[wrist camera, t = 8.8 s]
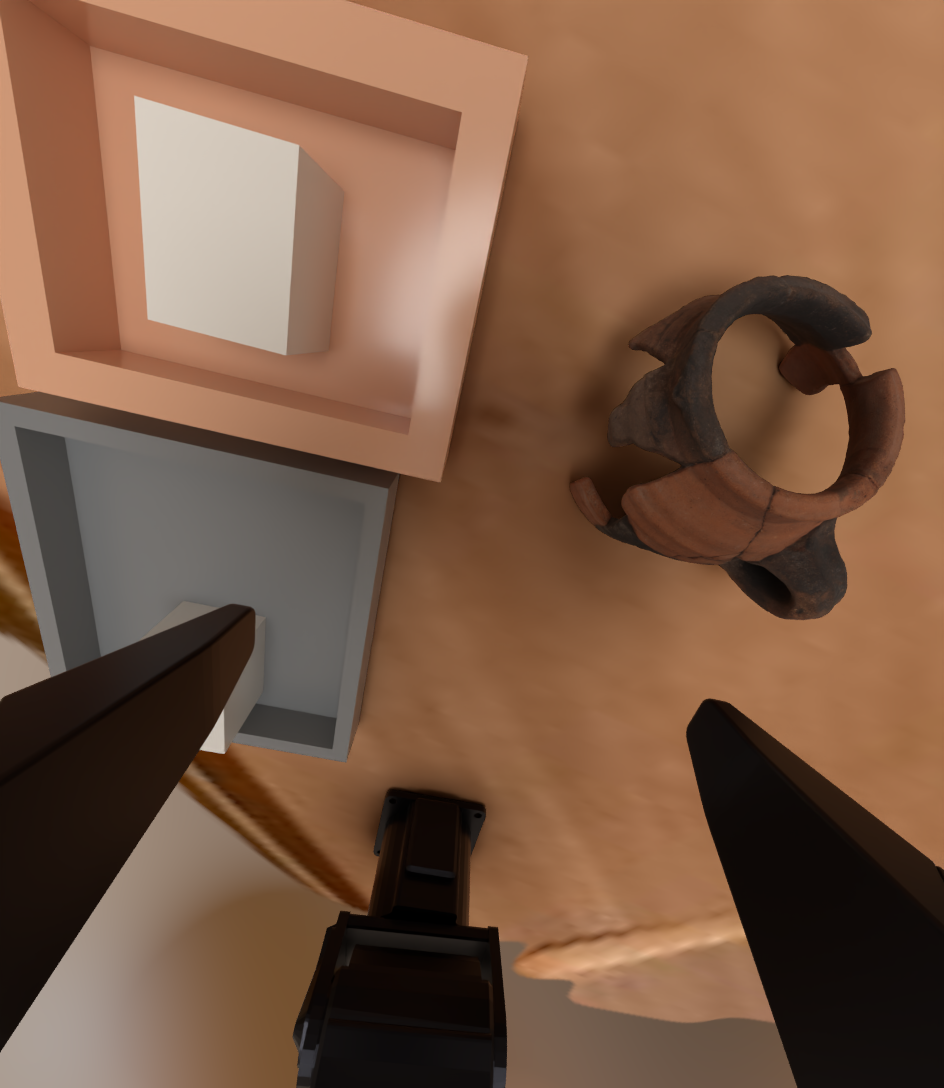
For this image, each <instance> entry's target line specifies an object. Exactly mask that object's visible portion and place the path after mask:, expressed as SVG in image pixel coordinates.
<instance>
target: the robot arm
mask: <svg viewBox="0 0 944 1088" xmlns="http://www.w3.org/2000/svg"><path fill="white" fill-rule="evenodd" d="M255 624H256V613H255V610H254V609H253V608H252V607H250V606H245V605H240V604H234V603H232V604H228V605H226V606H223V607H221V608H218V609H216V610H213V611H211V612H209V613H206V614H204V615H201V616H199V617H196V618H194V619H192V620H189V621H187V622H184V623H182V624H179V625H177V626H175V627H172V628H170V629H167V630H165V631H162V632H160V633H158V634H155V635H153V636H150V637H148V638H145V639H143V640H140V641H138V642H136V643H133V644H131V645H128V646H126V647H123V648H121V649H119V650H116V651H114V652H111V653H109V654H106V655H104V656H102V657H99V658H97V659H94V660H92V661H89V662H87V663H85V664H82V665H80V666H77V667H75V668H72V669H70V670H68V671H65V672H63V673H60V674H58V675H55V676H53V677H51V678H48V679H46V680H43V681H41V682H38V683H36V684H34V685H31V686H29V687H26V688H24V689H21V690H19V691H17V692H14V693H12V694H9V695H7V696H5V697H3V698H2V699H1V701H0V1052H1V1050H2V1049H3V1047H4V1046H5V1044H6V1043H7V1041H8V1040H9V1038H10V1037H11V1035H12V1034H13V1032H14V1031H15V1029H16V1027H17V1026H18V1025H19V1023H20V1021H21V1020H22V1018H23V1017H24V1015H25V1014H26V1012H27V1011H28V1009H29V1008H30V1006H31V1005H32V1003H33V1002H34V1000H35V999H36V997H37V996H38V994H39V993H40V991H41V990H42V988H43V987H44V985H45V984H46V982H47V981H48V979H49V977H50V976H51V974H52V973H53V971H54V970H55V968H56V967H57V965H58V963H59V962H60V961H61V959H62V958H63V956H64V955H65V953H66V951H67V950H68V949H69V947H70V945H71V944H72V943H73V941H74V940H75V938H76V937H77V935H78V933H79V932H80V930H81V929H82V927H83V926H84V924H85V923H86V921H87V920H88V918H89V917H90V915H91V914H92V912H93V911H94V909H95V908H96V906H97V905H98V903H99V902H100V900H101V898H102V897H103V896H104V894H105V893H106V891H107V889H108V888H109V886H110V885H111V883H112V882H113V880H114V879H115V877H116V876H117V874H118V873H119V871H120V870H121V868H122V867H123V865H124V864H125V862H126V861H127V859H128V858H129V856H130V855H131V853H132V852H133V850H134V849H135V847H136V845H137V844H138V842H139V841H140V839H141V838H142V836H143V835H144V833H145V832H146V830H147V829H148V827H149V826H150V824H151V823H152V821H153V820H154V818H155V817H156V815H157V813H158V812H159V811H160V809H161V807H162V806H163V805H164V803H165V801H166V800H167V798H168V797H169V795H170V794H171V792H172V791H173V789H174V788H175V786H176V785H177V783H178V782H179V780H180V779H181V777H182V776H183V774H184V773H185V771H186V770H187V768H188V767H189V765H190V764H191V762H192V761H193V759H194V757H195V756H196V754H197V753H198V751H199V750H200V748H201V747H202V745H203V744H204V742H205V741H206V739H207V738H208V736H209V734H210V733H211V731H212V730H213V728H214V726H215V724H216V723H217V721H218V719H219V717H220V715H221V713H222V711H223V709H224V707H225V706H226V704H227V702H228V700H229V698H230V696H231V694H232V692H233V690H234V688H235V686H236V684H237V682H238V680H239V678H240V676H241V674H242V672H243V670H244V668H245V667H246V665H247V663H248V661H249V659H250V657H251V655H252V652H253V649H254V645H255ZM686 738H687V743H688V747H689V751H690V755H691V759H692V764H693V768H694V772H695V776H696V780H697V784H698V789H699V793H700V797H701V801H702V805H703V809H704V812H705V816H706V819H707V822H708V826H709V829H710V832H711V835H712V838H713V840H714V843H715V846H716V849H717V852H718V855H719V858H720V861H721V864H722V867H723V870H724V873H725V876H726V879H727V882H728V885H729V888H730V891H731V893H732V896H733V899H734V902H735V905H736V908H737V911H738V914H739V917H740V920H741V923H742V926H743V929H744V932H745V935H746V938H747V941H748V944H749V946H750V949H751V952H752V955H753V958H754V961H755V964H756V967H757V970H758V973H759V976H760V979H761V982H762V985H763V988H764V991H765V994H766V997H767V999H768V1002H769V1005H770V1008H771V1011H772V1014H773V1017H774V1020H775V1023H776V1026H777V1029H778V1032H779V1035H780V1038H781V1040H782V1044H783V1047H784V1050H785V1052H786V1055H787V1058H788V1061H789V1064H790V1067H791V1070H792V1073H793V1076H794V1079H795V1082H796V1085H797V1088H944V870H943V869H942V868H941V867H939V866H935V864H934V863H933V861H931V860H930V859H929V858H928V857H926V856H925V855H924V854H922V853H921V852H920V851H919V850H917V849H916V848H915V847H913V846H912V845H911V844H910V843H908V842H907V841H906V840H904V839H903V838H902V837H901V836H899V835H898V834H897V833H895V832H894V831H893V830H892V829H890V828H889V827H888V826H886V825H885V824H884V823H883V822H881V821H880V820H879V819H877V818H876V817H875V816H874V815H872V814H871V813H870V812H869V811H867V810H866V809H865V808H863V807H862V806H861V805H860V804H858V803H857V802H856V801H854V800H853V799H852V798H851V797H849V796H848V795H847V794H845V793H844V792H843V791H842V790H840V789H839V788H838V787H836V786H835V785H834V784H833V783H831V782H830V781H829V780H827V779H826V778H825V777H824V776H822V775H821V774H820V773H818V772H817V771H816V770H815V769H813V768H812V767H811V766H809V765H808V764H807V763H806V762H804V761H803V760H802V759H800V758H799V757H798V756H797V755H795V754H794V753H793V752H791V751H790V750H789V749H788V748H786V747H785V746H784V745H782V744H781V743H780V742H779V741H777V740H776V739H775V738H773V737H772V736H771V735H770V734H768V733H767V732H766V731H764V730H763V729H762V728H761V727H759V726H758V725H757V724H755V723H754V722H753V721H752V720H750V719H749V718H748V717H746V716H745V715H744V714H743V713H741V712H740V711H739V710H737V709H736V708H735V707H734V706H732V705H731V704H730V703H728V702H725V701H720V700H715V699H706V700H704V701H703V702H702V703H701V705H700V706H699V708H698V710H697V711H696V713H695V715H694V716H693V718H692V720H691V721H690V723H689V725H688V727H687V731H686ZM485 817H486V809H485V807H484V806H482V805H478V804H472V803H467V802H461V801H455V800H449V799H443V798H438V797H432V796H426V795H420V794H414V793H409V792H403V791H397V790H390V791H388V792H387V793H386V797H385V801H384V806H383V810H382V815H381V819H380V824H379V828H378V833H377V837H376V842H375V846H374V851H373V852H374V854H375V855H376V856H379V860H378V865H377V870H376V875H375V880H374V885H373V890H372V895H371V900H370V905H369V910H368V915H367V916H366V915H356V914H350V912H348V911H340V914H339V917H338V920H337V923H336V924H335V925H333V926H330V927H328V928H327V930H326V934H325V938H324V941H323V946H322V949H321V953H320V956H319V960H318V963H317V967H316V970H315V972H314V975H313V978H312V981H311V983H310V986H309V989H308V991H307V994H306V997H305V999H304V1002H303V1005H302V1007H301V1010H300V1013H299V1015H298V1018H297V1021H296V1024H295V1028H294V1032H293V1040H294V1042H295V1045H296V1047H297V1050H298V1052H299V1056H298V1064H297V1066H298V1068H299V1071H298V1077H297V1087H296V1088H505V1084H506V1066H507V1027H506V1011H505V1000H504V989H503V978H502V966H501V956H500V944H499V933H498V927H491V926H488V928H480V927H471V926H469V893H470V856H471V854H472V851H473V849H474V846H475V843H476V841H477V838H478V835H479V833H480V830H481V828H482V825H483V822H484V820H485Z"/></svg>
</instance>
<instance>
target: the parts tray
mask: <svg viewBox="0 0 944 1088" xmlns="http://www.w3.org/2000/svg"><path fill="white" fill-rule="evenodd" d="M0 460H1V464H2V469H3V473H4V477H5V481H6V486H7V490H8V494H9V499H10V503H11V507H12V512H13V516H14V520H15V524H16V529H17V533H18V537H19V542H20V546H21V550H22V554H23V559H24V563H25V567H26V572H27V576H28V580H29V585H30V589H31V593H32V597H33V602H34V606H35V610H36V615H37V619H38V623H39V627H40V632H41V636H42V640H43V645H44V649H45V653H46V658H47V662H48V666H49V670H50V675H51V677H53V676H55V675H58V674H60V673H63V672H65V671H68V670H70V669H72V668H75V667H77V666H80V665H82V664H85V663H87V662H89V661H92V660H94V659H97V658H99V657H102V656H104V655H106V654H109V653H111V652H114V651H116V650H119V649H121V648H123V647H126V646H128V645H131V644H133V643H136V642H138V641H139V640H140V639H141V638H143V637H144V636H145V635H146V634H147V633H148V632H149V631H150V630H152V629H153V628H154V627H155V626H156V625H157V624H158V623H159V622H161V621H162V620H163V619H164V618H165V617H166V616H167V615H168V614H170V613H171V612H172V611H173V610H174V609H175V608H176V607H177V606H179V605H180V604H181V603H182V602H183V601H187V602H192V603H197V604H202V605H207V606H212V607H217V608H221V607H223V606H226V605H228V604H232V603H234V604H240V605H245V606H250V607H252V608H253V609H254V610H255V613H256V615H257V616H262V617H266V625H265V654H264V682H263V692H262V694H261V696H260V697H259V699H258V701H257V702H256V704H255V705H254V707H253V709H252V710H251V712H250V714H249V715H248V717H247V718H246V720H245V722H244V723H243V725H242V726H241V728H240V730H239V731H238V733H237V735H236V736H235V738H234V739H233V741H232V742H233V743H239V744H244V745H250V746H256V747H261V748H267V749H273V750H278V751H284V752H290V753H295V754H301V755H307V756H312V757H318V758H324V759H329V760H335V761H341V762H346V761H347V758H348V755H349V752H350V749H351V746H352V743H353V740H354V736H355V733H356V730H357V727H358V724H359V718H360V712H361V706H362V700H363V694H364V688H365V682H366V676H367V670H368V663H369V657H370V651H371V645H372V639H373V633H374V627H375V621H376V615H377V609H378V603H379V596H380V590H381V584H382V578H383V572H384V566H385V560H386V554H387V548H388V542H389V536H390V529H391V523H392V517H393V511H394V505H395V499H396V493H397V487H398V481H399V475H400V473H396V472H391V471H387V470H383V469H378V468H374V467H369V466H365V465H360V464H356V463H352V462H347V461H343V460H338V459H334V458H330V457H325V456H321V455H316V454H312V453H308V452H303V451H299V450H294V449H290V448H286V447H281V446H277V445H272V444H268V443H264V442H259V441H255V440H250V439H246V438H242V437H237V436H233V435H228V434H224V433H220V432H215V431H211V430H206V429H202V428H198V427H193V426H189V425H184V424H180V423H176V422H171V421H167V420H162V419H158V418H154V417H149V416H145V415H140V414H136V413H132V412H127V411H123V410H118V409H114V408H110V407H105V406H101V405H96V404H92V403H88V402H83V401H79V400H74V399H70V398H66V397H61V396H57V395H52V394H48V393H44V392H34V393H27V394H19V395H11V396H4V397H0Z"/></svg>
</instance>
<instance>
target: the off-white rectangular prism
mask: <svg viewBox="0 0 944 1088" xmlns="http://www.w3.org/2000/svg"><path fill="white" fill-rule="evenodd" d="M216 609H218V608H217V607H212V606H207V605H202V604H197V603H192V602H187V601H183V602H182V603H181V604H180V605H179V606H177V607H176V608H175V609H174V610H173V611H172V612H171V613H170V614H168V615H167V616H166V617H165V618H164V619H163V620H162V621H161V622H159V623H158V624H157V625H156V626H155V627H154V628H153V629H152V630H150V631H149V632H148V633H147V634H146V635H145V636H144V637H143V638H141V639H140V640H143V639H145V638H148V637H150V636H153V635H155V634H158V633H160V632H162V631H165V630H167V629H170V628H172V627H175V626H177V625H179V624H182V623H184V622H187V621H189V620H192V619H194V618H196V617H199V616H201V615H204V614H206V613H209V612H211V611H213V610H216ZM265 625H266V617H262V616H257V615H256V624H255V645H254V649H253V652H252V655H251V657H250V659H249V661H248V663H247V665H246V667H245V668H244V670H243V672H242V674H241V676H240V678H239V680H238V682H237V684H236V686H235V688H234V690H233V692H232V694H231V696H230V698H229V700H228V702H227V704H226V706H225V707H224V709H223V711H222V713H221V715H220V717H219V719H218V721H217V723H216V724H215V726H214V728H213V730H212V731H211V733H210V734H209V736H208V738H207V739H206V741H205V742H204V744H203V745H202V747H201V748H200V750H205V751H211V752H216V753H222V754H225V752H226V751H227V749H228V748H229V746H230V744H231V743H232V741H233V739H234V738H235V736H236V735H237V733H238V731H239V730H240V728H241V726H242V725H243V723H244V722H245V720H246V718H247V717H248V715H249V714H250V712H251V710H252V709H253V707H254V705H255V704H256V702H257V701H258V699H259V697H260V696H261V694H262V692H263V682H264V654H265ZM140 640H139V641H140Z"/></svg>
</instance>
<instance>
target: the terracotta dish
mask: <svg viewBox="0 0 944 1088" xmlns="http://www.w3.org/2000/svg"><path fill="white" fill-rule="evenodd" d="M527 62H528V56H526V55H523V54H520V53H516V52H513V51H510V50H506V49H503V48H500V47H497V46H493V45H490V44H487V43H484V42H480V41H477V40H474V39H470V38H467V37H464V36H461V35H457V34H454V33H451V32H447V31H444V30H441V29H438V28H434V27H431V26H428V25H425V24H421V23H418V22H415V21H411V20H408V19H405V18H402V17H398V16H395V15H392V14H389V13H385V12H382V11H379V10H375V9H372V8H369V7H366V6H362V5H359V4H356V3H353V2H349V1H346V0H0V298H1V303H2V308H3V313H4V318H5V323H6V328H7V333H8V338H9V343H10V348H11V353H12V358H13V363H14V368H15V373H16V378H17V383H18V387H22V388H26V389H30V390H35V391H39V392H44V393H48V394H52V395H57V396H61V397H66V398H70V399H74V400H79V401H83V402H88V403H92V404H96V405H101V406H105V407H110V408H114V409H118V410H123V411H127V412H132V413H136V414H140V415H145V416H149V417H154V418H158V419H162V420H167V421H171V422H176V423H180V424H184V425H189V426H193V427H198V428H202V429H206V430H211V431H215V432H220V433H224V434H228V435H233V436H237V437H242V438H246V439H250V440H255V441H259V442H264V443H268V444H272V445H277V446H281V447H286V448H290V449H294V450H299V451H303V452H308V453H312V454H316V455H321V456H325V457H330V458H334V459H338V460H343V461H347V462H352V463H356V464H360V465H365V466H369V467H374V468H378V469H383V470H387V471H391V472H396V473H400V474H405V475H409V476H413V477H418V478H422V479H427V480H431V481H435V482H441V479H442V475H443V472H444V468H445V465H446V461H447V458H448V453H449V448H450V443H451V439H452V434H453V429H454V424H455V419H456V415H457V410H458V405H459V400H460V396H461V391H462V386H463V381H464V376H465V372H466V367H467V362H468V357H469V352H470V348H471V343H472V338H473V333H474V329H475V324H476V319H477V314H478V309H479V305H480V300H481V295H482V290H483V285H484V281H485V276H486V271H487V266H488V261H489V257H490V252H491V247H492V242H493V238H494V233H495V228H496V223H497V218H498V214H499V209H500V204H501V199H502V194H503V190H504V185H505V180H506V175H507V170H508V166H509V161H510V156H511V151H512V147H513V142H514V137H515V132H516V127H517V123H518V118H519V112H520V105H521V99H522V93H523V87H524V81H525V75H526V68H527ZM134 96H137V97H141V98H144V99H147V100H151V101H154V102H157V103H161V104H164V105H167V106H171V107H174V108H177V109H181V110H184V111H187V112H191V113H194V114H197V115H201V116H204V117H207V118H211V119H214V120H217V121H221V122H224V123H227V124H231V125H234V126H237V127H241V128H244V129H247V130H251V131H254V132H257V133H261V134H264V135H267V136H271V137H274V138H277V139H281V140H284V141H287V142H291V143H294V144H297V145H300V146H301V147H302V149H303V150H304V151H305V152H306V153H307V154H308V155H309V156H310V157H311V158H312V159H313V160H314V161H315V162H316V163H317V164H318V165H319V166H320V167H321V168H322V169H323V170H324V171H325V172H326V173H327V174H328V175H329V176H330V177H331V178H332V179H333V180H334V181H335V182H336V183H337V184H338V185H339V186H340V187H341V189H342V190H343V191H344V200H343V210H342V221H341V231H340V241H339V251H338V261H337V271H336V281H335V291H334V301H333V312H332V322H331V332H330V342H329V351H323V352H314V353H305V354H295V355H282V354H279V353H275V352H271V351H267V350H263V349H259V348H256V347H252V346H248V345H244V344H240V343H236V342H232V341H229V340H225V339H221V338H217V337H213V336H209V335H206V334H202V333H198V332H194V331H190V330H186V329H183V328H179V327H175V326H171V325H167V324H163V323H160V322H156V321H152V320H148V316H147V299H146V283H145V267H144V250H143V234H142V217H141V201H140V185H139V168H138V152H137V136H136V119H135V103H134Z"/></svg>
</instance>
